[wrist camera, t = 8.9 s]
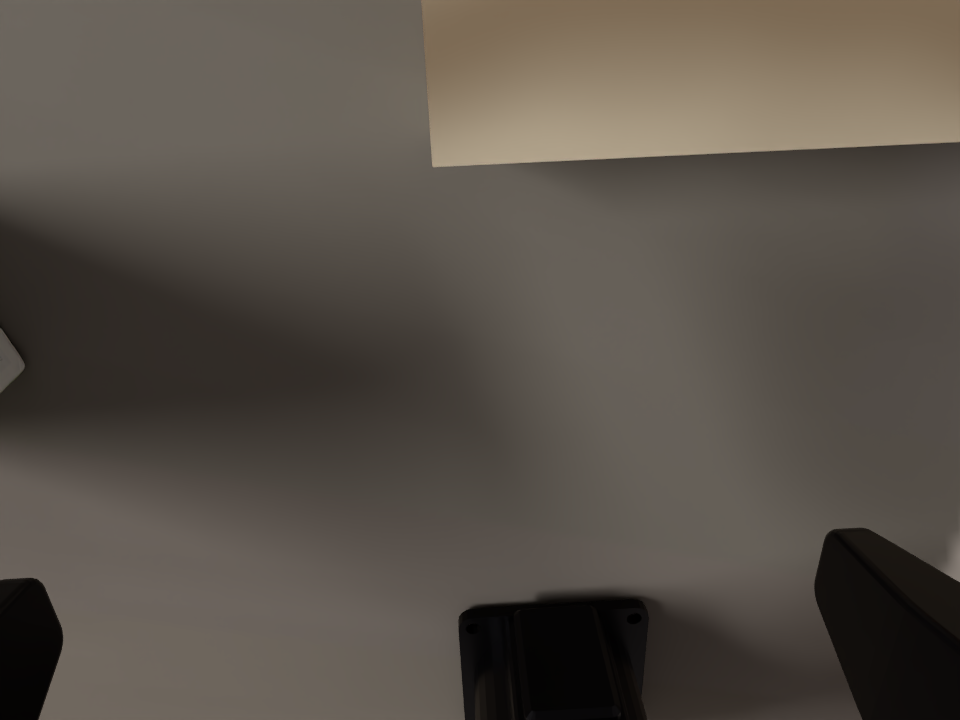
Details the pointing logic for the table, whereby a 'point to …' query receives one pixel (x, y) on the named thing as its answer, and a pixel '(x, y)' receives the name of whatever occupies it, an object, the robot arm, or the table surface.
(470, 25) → the frame with crossbar
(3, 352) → the syrup box
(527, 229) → the table surface
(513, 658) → the robot arm
